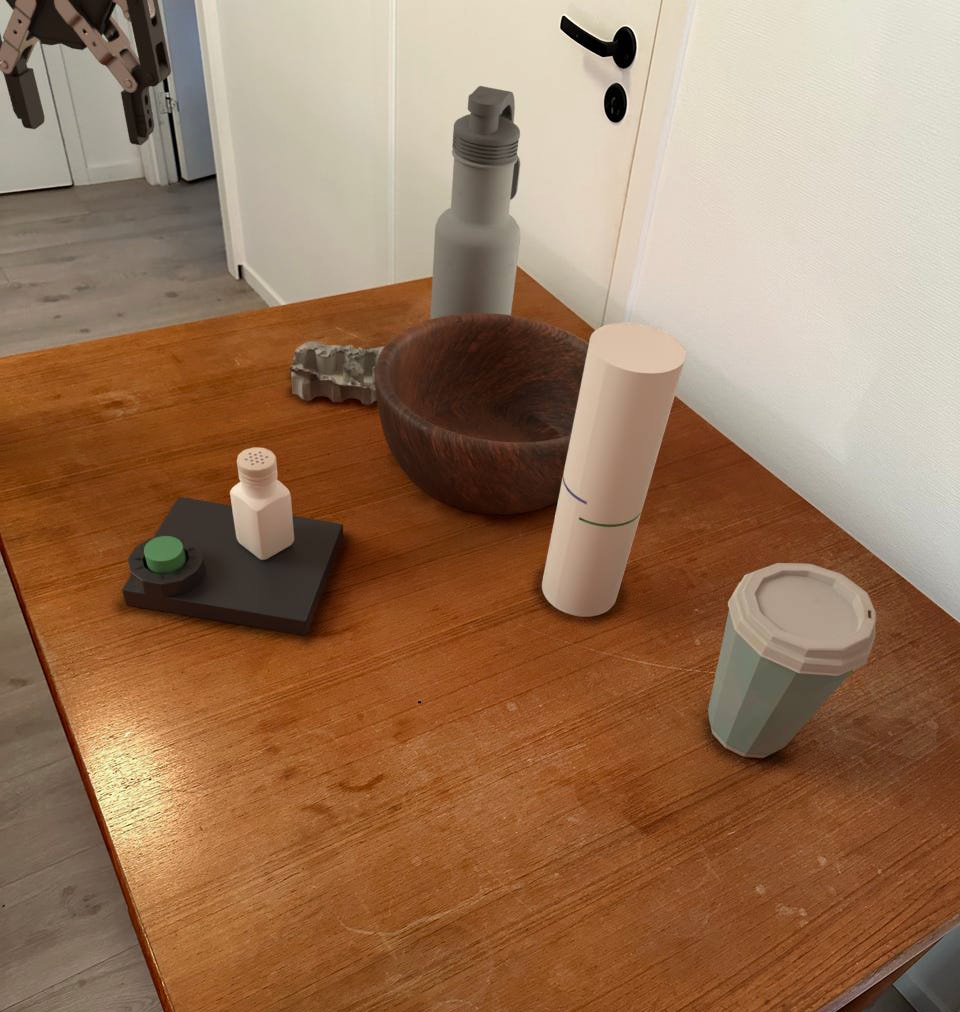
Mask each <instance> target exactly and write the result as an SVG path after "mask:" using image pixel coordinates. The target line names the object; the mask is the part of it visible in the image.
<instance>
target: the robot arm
mask: <svg viewBox="0 0 960 1012" xmlns="http://www.w3.org/2000/svg"><path fill="white" fill-rule="evenodd" d="M5 2H6V3H7V4H8V6H9V7H10V8H11V10H12V13H11V15H10V18H9V20H8V23H7V24H6V28H5V30H4V31H3V35H1V34H2V33H0V71H1V73H2V74H3V77H4V80H5V84H6V87H7V88H6V89H7V91H8V95H9V96H8V97H9V99H10V103H11V107H12V111H13V112H14V115H15V116H16V118H17V119H18V120H21V124H22V126H23V127H24V128H25V129H30V130H36V129H38V128H39V127H40V126H42V125H43V124H45V113H44V109H43V105H42V101H41V97H40V93H39V88H38V85H37V80H36V76H35V72H34V68H31V67H28V63H29V60H30V58H31V55H32V53H33V51H34V48H35V46H36V44H37V43H38V42H40V44H41V45H46V46H55V45H63V46H66V47H67V48H70V49H72V50H73V49H74V50H80V51H83V50H86V49H88V51H90V53H91V54H92V55H93V57H94V58H95V60H96V61H97V62H98V63H99V64H100V65H102V66H105V67H106V68H107V69H108V70H109V72H110V73H111V74H112V76H113V77H114V78H115V80H116V81H117V82H118V84H119V85H120V86H121V88H122V89H123V90H122V91H120V96H121V101H122V108H123V111H124V112H123V113H124V119H125V122H126V128H127V129H126V130H127V134H128V140H129V143H130V144H131V145H136V146H142V145H143V144H145V143H146V142H147V141H148V140H149V138H150V135H151V134H152V133H154V129H155V121H154V114H153V107H152V102H151V96H150V87H156V86H158V85H159V84H160V83H161V82H163V81H164V80H166V79H167V78H168V77H169V76H170V75H171V73H172V67H171V62H170V57H169V52H168V47H167V42H166V36H165V30H164V25H163V20H162V16H161V9H160V5H159V1H158V0H5ZM116 6H119V8H120V9H121V11H122V13H123V14H122V15H123V17H124V18H125V19H126V20H127V21H128V22H130V24H131V29H132V34H133V39H134V43H135V48H136V53H137V54H136V53H135V51H134V50H133V49H132V47H131V41H130V39H129V38H128V36H127V35H126V34H125V32H124V31H123V29H122V28H121V27H120V26H119V24H118V23H117V22H116V20H115V18H114V17H113V16H112V15H113V12H114V11H115V8H116ZM103 36H104V37H103ZM2 39H3V40H2Z"/></svg>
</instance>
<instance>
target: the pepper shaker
mask: <svg viewBox="0 0 960 1012" xmlns="http://www.w3.org/2000/svg"><path fill="white" fill-rule="evenodd" d="M236 465H237V472H238V479H239V482H237V483H236V484H235V485H234V486H233V487H232V488H231V490H230V491H229V497H230V505H232V510H233V517H234V524H235V531H236V538H237V540H238V542H239V543H240V544H241V545H242V546H244V547H245V548H246V549H248V550H249V551H250V552H251V553H253V554H254V555H255V556H256V557H258V558H259V559H261V560H265V559H268V558H270V557H271V556H273V555H275V554H277V553H278V552H280V551H282V550H283V549H285V548H287V547H289V546H290V545H291V544H292V543H293V542H294V530H293V518H292V516H293V507H292V495H291V492H290V490H289V488H287V487H286V486H285V485H284V484H283V483H282V482H281V481H280V480H278V475H279V474H278V465H277V456H276V455H275V453H274V452H273V451H272V450H270V449H268V448H265V447H250V448H246V449H244V450H242V451H241V452H240V453H238V455H237V459H236Z"/></svg>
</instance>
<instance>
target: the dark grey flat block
mask: <svg viewBox="0 0 960 1012" xmlns="http://www.w3.org/2000/svg"><path fill="white" fill-rule="evenodd" d="M292 518H293V530H294V542H293V543H292V544H291V545H290V546H289V547H287V548H285V549H283V550H282V551H280V552H278V553H277V554H275V555H273V556H271V557H270V558H268V559H265V560H261V559H259V558H258V557H256V556H255V555H254V554H253V553H251V552H250V551H249V550H248V549H246V548H245V547H244V546H242V545H241V544H240V543H239V542H238V540H237V538H236V531H235V524H234V517H233V510H232V504H226V503H221V502H214V501H207V500H201V499H195V498H189V497H185V496H184V497H183V496H177V498H176V499H175V501H174V503H173V505H172V506H171V508H170V510H168V513H167V515H166V516H165V518H164V520H163V521H162V523H161V524H160V526H159V528H158V529H157V531H156V532H155V534H154V536H153V537H149V538H148V539H146V540H144V541H142V542H141V543H139V544H138V545H136V546H135V547H134V548H133V550H132V552H131V553H130V555H129V557H128V558H127V564H128V568H129V572H130V573H129V574H130V576H129V577H128V579H127V581H126V582H125V584H124V586H123V587H122V589H121V592H122V596H123V599H124V602H125V603H124V604H125V605H126V606H129V607H136V608H142V609H147V610H153V611H159V612H165V613H171V614H177V615H183V616H187V617H193V618H194V617H195V618H200V619H205V620H211V621H217V622H223V623H229V624H235V625H239V626H246V627H250V628H256V629H257V628H258V629H262V630H263V629H264V630H269V631H275V632H281V633H287V634H291V635H292V634H293V635H299V636H305V637H306V636H307V635H308V632H309V630H310V627H311V625H312V622H313V619H314V616H315V614H316V611H317V608H318V607H319V604H320V601H321V598H322V596H323V593H324V591H325V588H326V586H327V582H328V580H329V577H330V574H331V572H332V570H333V568H334V565H335V561H336V559H337V557H338V554H339V551H340V549H341V547H342V544H343V541H344V524H343V523H339V522H335V521H334V522H332V521H327V520H321V519H314V518H311V517H310V518H309V517H304V516H297V515H292ZM161 536H171V537H175V538H177V539H179V540H180V541H181V542H182V544H183V548H184V553H185V557H186V562H185V564H184V566H183V567H182V568H181V569H180V570H178V571H176V572H174V573H168V574H158V573H155V572H153V571H151V570H150V569H149V568H148V566H147V562H146V558H145V554H144V548H145V545H146V544H147V543H148V542H149V541H151V540H152V539H154V538H157V537H161Z"/></svg>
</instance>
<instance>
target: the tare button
mask: <svg viewBox="0 0 960 1012" xmlns="http://www.w3.org/2000/svg"><path fill="white" fill-rule="evenodd" d="M144 554H145V558H146V562H147V566H148V568H149V569H150V570H151V571H153V572H155V573H158V574H168V573H174V572H176V571H178V570H180V569H181V568H182V567H183V566H184V564H185V562H186V557H185V553H184V548H183V544H182V542H181V541H180V540H179V539H177V538H175V537H171V536H161V537H157V538H154V539H152V540H151V541H149V542H148V543H147V544H146V545H145V548H144Z"/></svg>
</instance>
